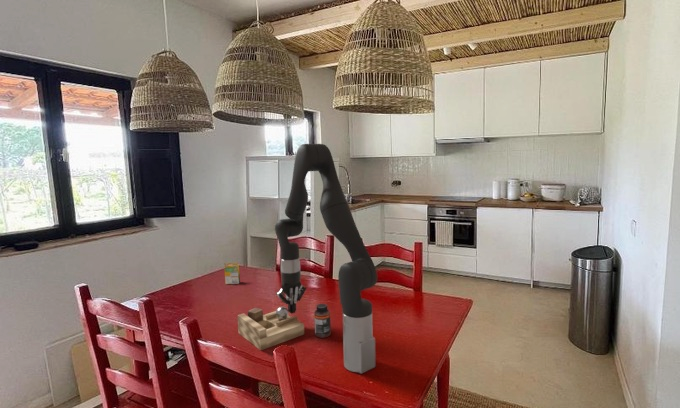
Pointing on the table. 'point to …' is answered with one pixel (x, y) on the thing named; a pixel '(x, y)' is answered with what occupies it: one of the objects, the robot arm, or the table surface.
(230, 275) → the crayon box
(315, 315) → the supplement bottle
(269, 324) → the wooden stepped tray
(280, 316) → the ball
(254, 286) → the table surface
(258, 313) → the walnut cube
